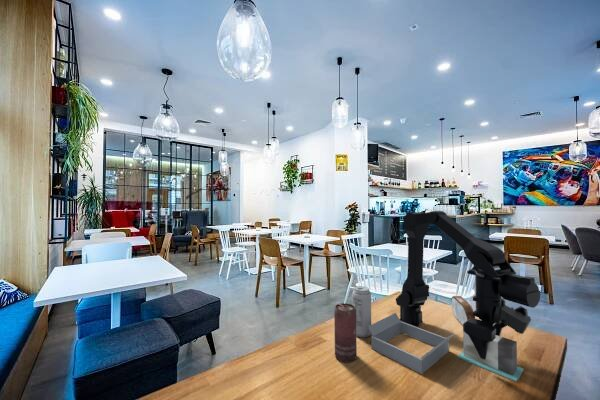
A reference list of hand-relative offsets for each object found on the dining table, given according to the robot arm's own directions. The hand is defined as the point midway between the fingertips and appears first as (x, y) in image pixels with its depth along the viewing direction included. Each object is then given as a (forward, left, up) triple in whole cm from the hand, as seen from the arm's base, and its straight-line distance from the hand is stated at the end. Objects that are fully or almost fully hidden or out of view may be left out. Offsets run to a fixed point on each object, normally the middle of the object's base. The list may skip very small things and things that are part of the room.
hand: (488, 352), depth 71 cm
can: (-27, -27, -3) cm, 38 cm away
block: (0, 0, -3) cm, 3 cm away
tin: (-14, +21, -3) cm, 25 cm away
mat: (0, 0, -3) cm, 3 cm away
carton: (-17, -10, -3) cm, 20 cm away
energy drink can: (-32, -13, -3) cm, 35 cm away
